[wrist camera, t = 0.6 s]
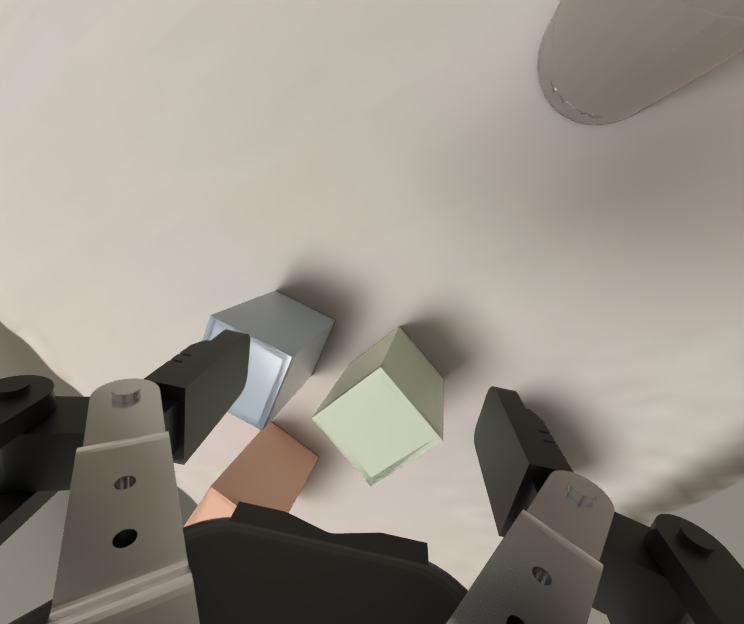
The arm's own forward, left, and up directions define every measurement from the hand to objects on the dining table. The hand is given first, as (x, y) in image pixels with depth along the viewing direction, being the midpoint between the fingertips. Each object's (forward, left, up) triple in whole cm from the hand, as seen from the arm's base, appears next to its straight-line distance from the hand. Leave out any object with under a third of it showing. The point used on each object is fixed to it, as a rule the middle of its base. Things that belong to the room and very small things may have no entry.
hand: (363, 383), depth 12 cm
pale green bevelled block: (+8, +3, -21) cm, 22 cm away
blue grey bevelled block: (+11, -7, -21) cm, 24 cm away
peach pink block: (+24, -1, -21) cm, 32 cm away
